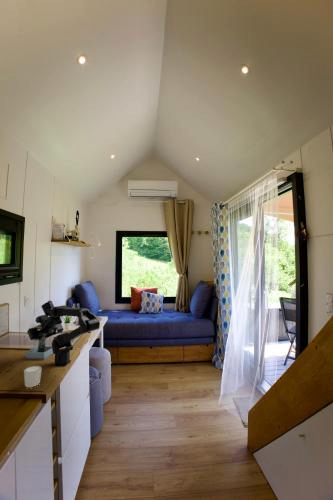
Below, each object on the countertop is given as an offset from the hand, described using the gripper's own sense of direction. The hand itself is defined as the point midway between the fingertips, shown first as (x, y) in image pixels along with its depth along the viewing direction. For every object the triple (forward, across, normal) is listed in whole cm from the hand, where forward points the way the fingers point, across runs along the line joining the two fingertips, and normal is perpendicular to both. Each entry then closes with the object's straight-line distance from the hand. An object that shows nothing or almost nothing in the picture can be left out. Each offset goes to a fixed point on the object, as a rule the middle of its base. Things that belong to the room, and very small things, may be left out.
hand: (40, 339), depth 143 cm
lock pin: (+5, 0, +6) cm, 8 cm away
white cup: (-16, +21, +28) cm, 39 cm away
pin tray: (+5, 0, +7) cm, 9 cm away
